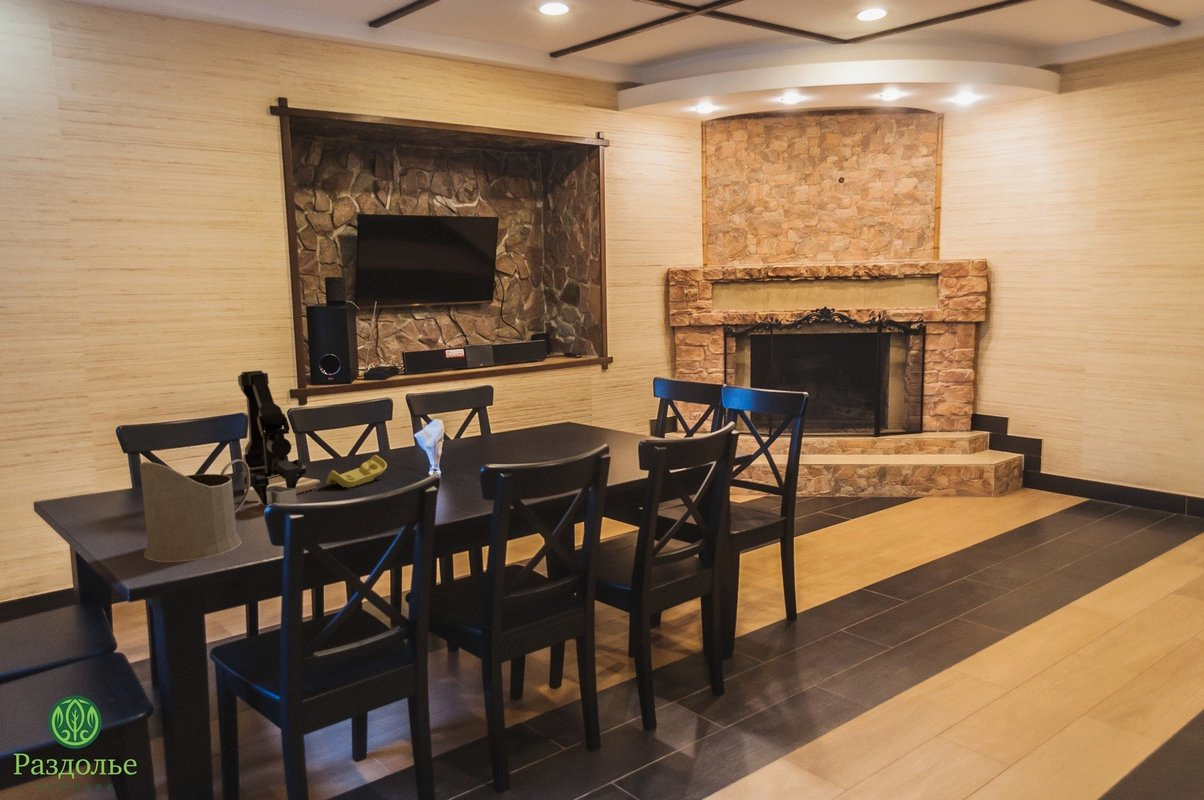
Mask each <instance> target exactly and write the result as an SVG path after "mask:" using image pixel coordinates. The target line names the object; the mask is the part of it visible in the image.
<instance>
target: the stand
mask: <svg viewBox="0 0 1204 800" xmlns="http://www.w3.org/2000/svg"><path fill="white" fill-rule="evenodd" d="M319 483H321V480H320V479H315V478H308V477H304V476H303V477H301V478H300V479H299V480H298V482H297V484H296V487H295V489H296V493H298V492H301V491H304V490H309V489H313V488H316V489H317V484H319ZM274 485H277V486H282V487H287V486H286V481H285V480H283V481H279V482H274V483H271V484H270V483H269V485H268V487H270V486H274Z"/></svg>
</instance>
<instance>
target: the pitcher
mask: <svg viewBox="0 0 1204 800" xmlns="http://www.w3.org/2000/svg"><path fill="white" fill-rule="evenodd" d="M238 462H241V463H243V464H244V466H245V468H246V475H247V484H246V487H247V489H246V492H245V491H244V495H243V497H242V499H241V500H240V502H239V504H238V505H237V506H236V507H235V502H234V501H235V500H234V490H233V488H234V487H233V480H232V477H231V476H229V475H226V474H225V473H226V471H227V470H228V469H229V468H230V467H231V466H232V465H233V464H235V463H238ZM139 469H140V471H139V472H140V480H141V489H142V497H143V498H142V499H143V507H144V517H145V519H144V520H145V527H146V538H147V543H146V547H145V550H144V553H143V554H144V555H143V556H144V558H145V559H148V560H150V561H152V560H153V561H154V562H160V563H177V562H178V563H179V562H190V561H196V560H203V559H207V558H208V559H209V558H211V557H215V556H220V555H222V554H225V553H228V552H231V551H233V550H235V549H236V548H238V547H240V545H241V544H242V539H241V537H240V536H239V533H238V532H237V524H236V513H237V512H238V511H239V510H240V509H241V508H242V507H243V504H244V503H245V500H246V498H247V496H248V493H249V490H250V471H249V467H248V465H247V463H246V462H245V461H243V459H238V458H237V459H234V460H232V461H230V462H229V463H227V464H226V465H225V466H224V467H223V468H222V470H221V472H220V473H219V474H216V473H201V474H188V475H184V474H182V473H181V472H179V471H176V470H175V469H173V468H171V467H169V466H167V465H165V464H164V465H163V464H160V463H156V462H152V461H151V462H149V461H145V462H144V461H143V462H141V463H139Z"/></svg>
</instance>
